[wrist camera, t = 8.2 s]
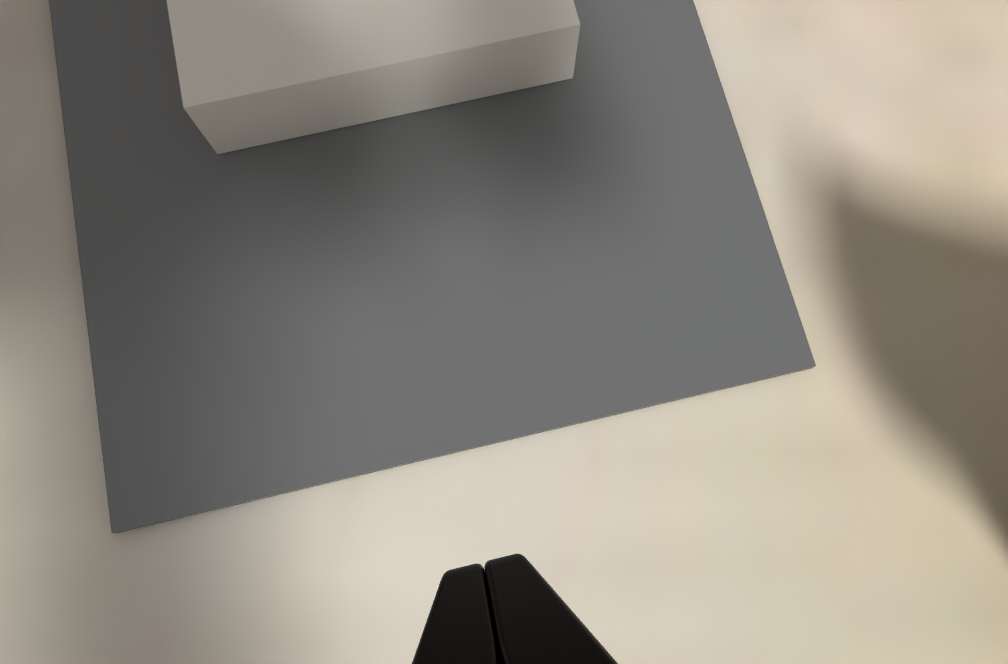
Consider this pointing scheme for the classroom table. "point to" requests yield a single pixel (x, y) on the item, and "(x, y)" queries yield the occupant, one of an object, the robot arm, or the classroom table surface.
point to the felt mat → (406, 263)
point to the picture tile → (356, 60)
